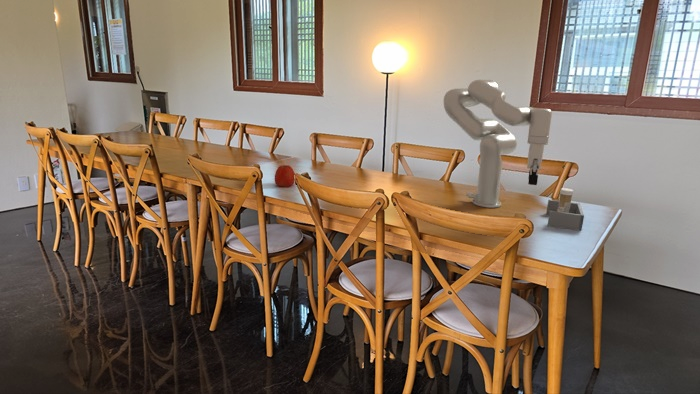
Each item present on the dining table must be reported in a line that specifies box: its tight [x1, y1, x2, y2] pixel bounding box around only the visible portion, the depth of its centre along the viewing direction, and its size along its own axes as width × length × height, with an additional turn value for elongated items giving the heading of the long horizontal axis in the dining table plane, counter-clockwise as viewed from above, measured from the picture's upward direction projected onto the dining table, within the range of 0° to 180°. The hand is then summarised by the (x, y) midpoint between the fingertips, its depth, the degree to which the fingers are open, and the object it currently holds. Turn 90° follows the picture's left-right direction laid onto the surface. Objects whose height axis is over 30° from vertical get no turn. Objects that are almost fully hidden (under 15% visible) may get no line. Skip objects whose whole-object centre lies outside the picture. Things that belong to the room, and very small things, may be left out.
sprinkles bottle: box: [557, 187, 574, 213], centre depth 178 cm, size 5×5×13 cm
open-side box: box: [545, 199, 585, 231], centre depth 179 cm, size 12×18×6 cm, turn 158°
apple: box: [274, 164, 296, 188], centre depth 220 cm, size 10×10×10 cm
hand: (532, 182), depth 180 cm, fingers open, 9 cm apart
